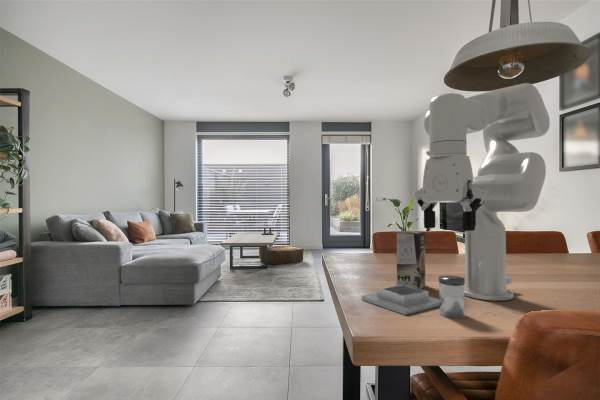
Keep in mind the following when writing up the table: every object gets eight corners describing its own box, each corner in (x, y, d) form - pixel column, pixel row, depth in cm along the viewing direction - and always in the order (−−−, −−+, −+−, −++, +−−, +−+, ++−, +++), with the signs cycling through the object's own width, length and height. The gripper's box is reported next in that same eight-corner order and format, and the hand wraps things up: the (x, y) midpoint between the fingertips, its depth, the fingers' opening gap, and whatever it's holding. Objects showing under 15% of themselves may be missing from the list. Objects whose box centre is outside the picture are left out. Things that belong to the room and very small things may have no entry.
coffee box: (419, 292, 92) (418, 233, 92) (395, 289, 95) (395, 232, 96) (426, 285, 100) (425, 231, 100) (404, 282, 103) (404, 230, 103)
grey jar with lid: (448, 309, 77) (448, 274, 77) (470, 315, 73) (469, 278, 73) (434, 313, 74) (433, 277, 74) (455, 320, 70) (455, 281, 70)
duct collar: (400, 292, 92) (400, 281, 92) (445, 304, 80) (445, 292, 80) (361, 299, 85) (361, 287, 85) (405, 315, 73) (405, 301, 73)
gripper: (405, 155, 80) (405, 227, 79) (475, 144, 65) (475, 232, 65) (426, 157, 84) (426, 226, 83) (496, 147, 69) (497, 231, 68)
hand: (448, 229), depth 74 cm, fingers open, 9 cm apart
